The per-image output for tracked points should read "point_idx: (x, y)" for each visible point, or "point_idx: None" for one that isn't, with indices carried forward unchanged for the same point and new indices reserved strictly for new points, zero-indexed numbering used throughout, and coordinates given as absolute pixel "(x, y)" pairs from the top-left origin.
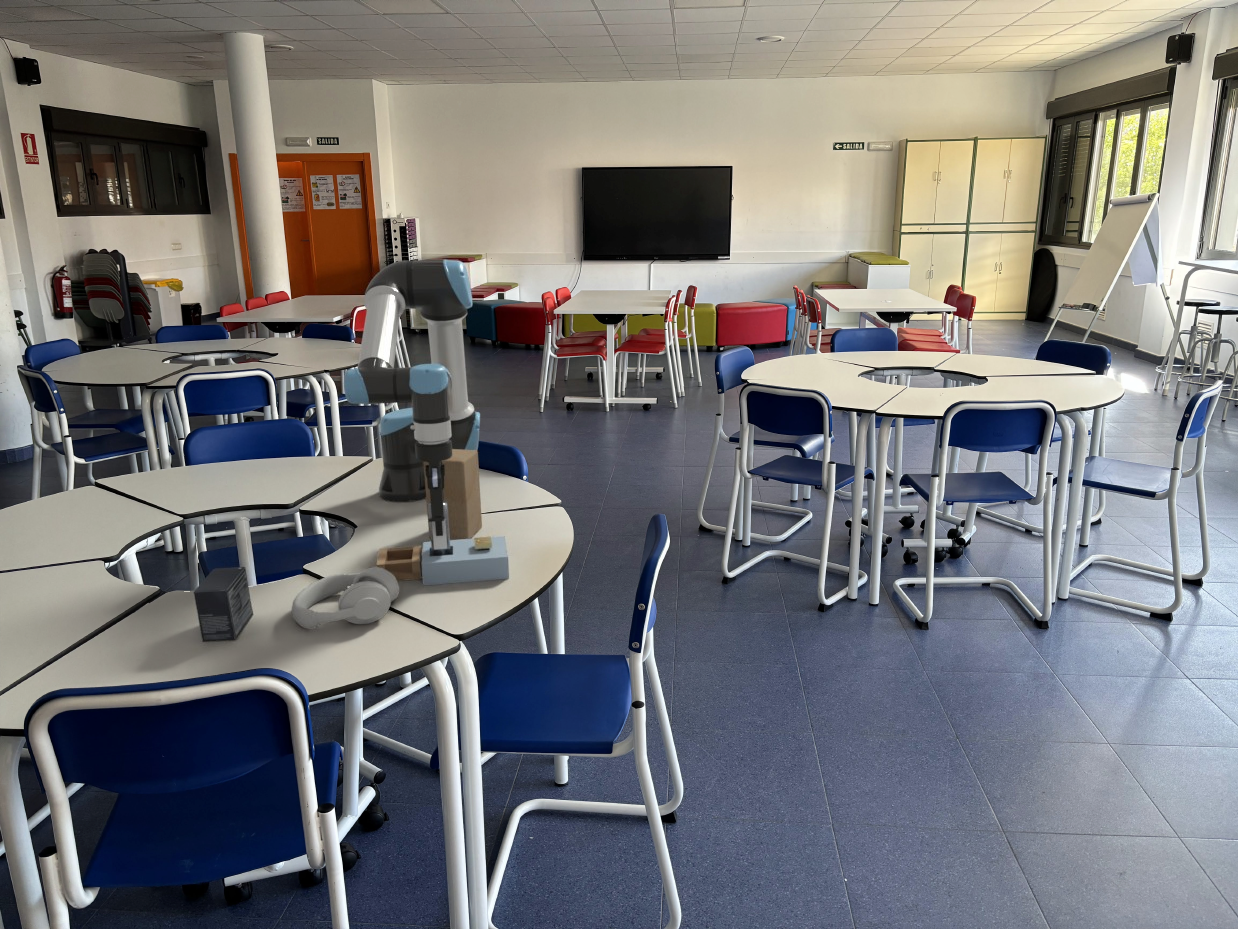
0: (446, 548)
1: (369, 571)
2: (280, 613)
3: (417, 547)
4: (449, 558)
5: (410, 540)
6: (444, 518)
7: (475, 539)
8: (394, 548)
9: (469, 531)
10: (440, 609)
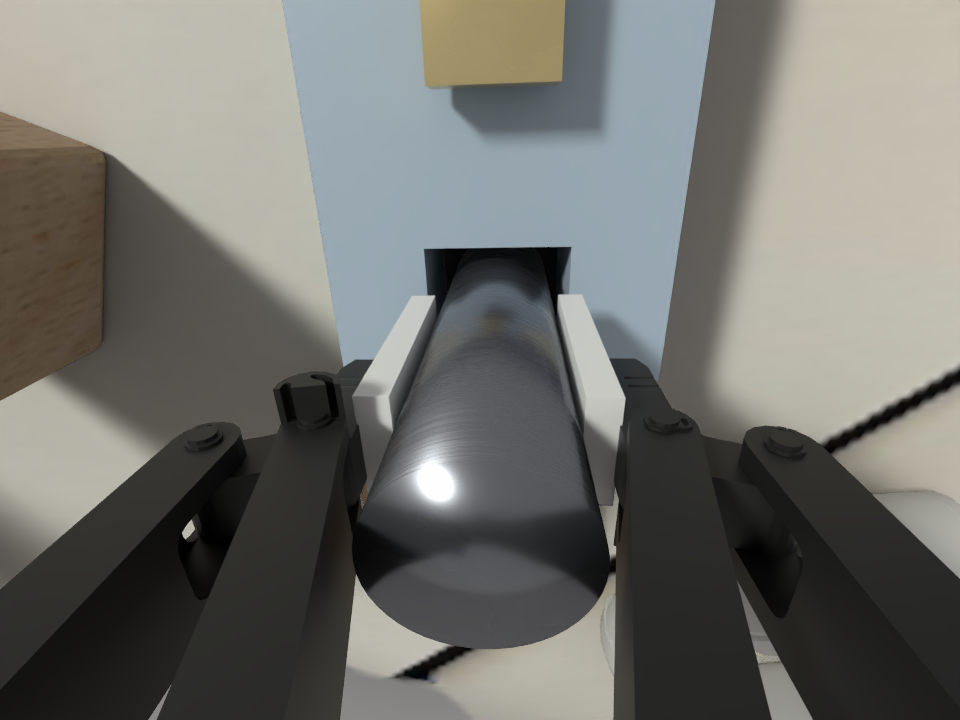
0: (582, 298)
1: None
2: None
3: None
4: (629, 268)
5: (129, 418)
6: (801, 438)
7: (463, 74)
8: None
9: (33, 140)
10: (916, 280)
